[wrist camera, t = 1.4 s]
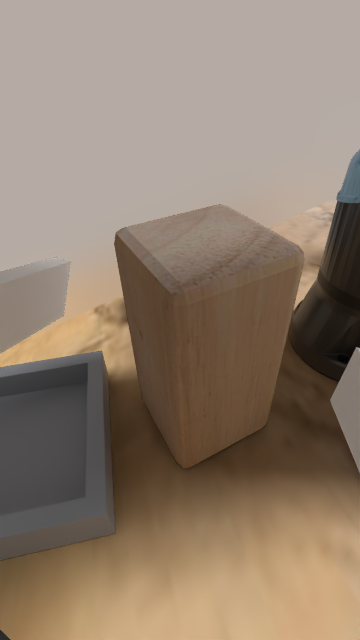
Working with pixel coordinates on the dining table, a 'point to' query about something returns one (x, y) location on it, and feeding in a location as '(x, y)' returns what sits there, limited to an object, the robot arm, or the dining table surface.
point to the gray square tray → (55, 454)
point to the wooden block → (207, 323)
